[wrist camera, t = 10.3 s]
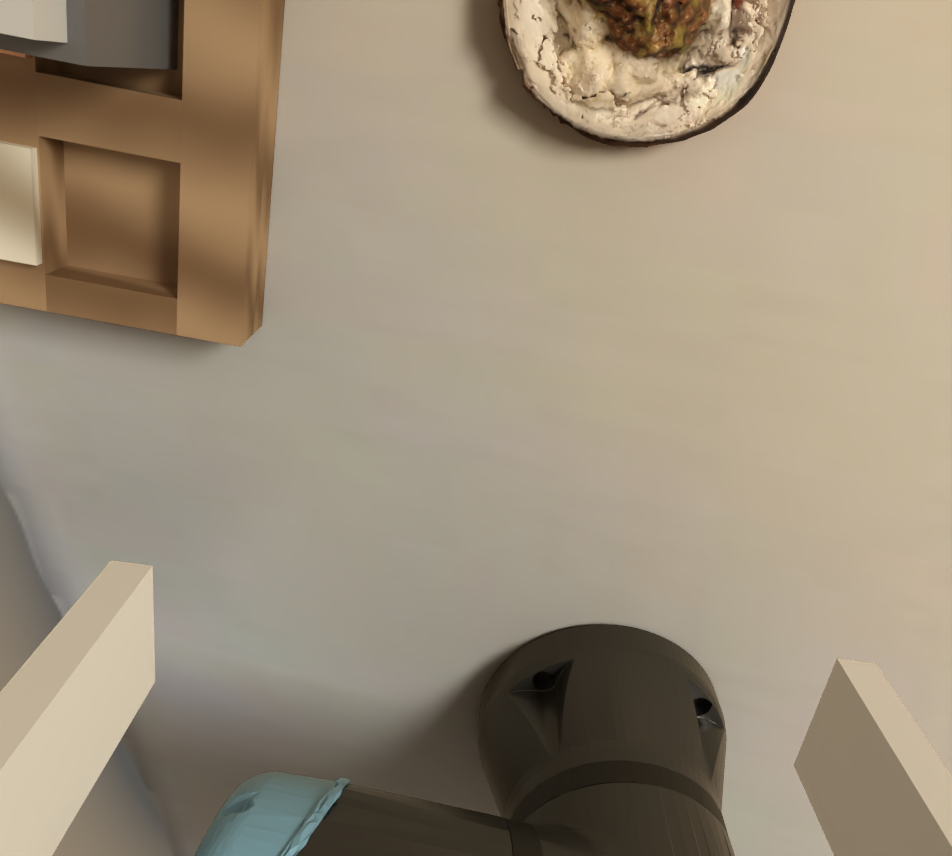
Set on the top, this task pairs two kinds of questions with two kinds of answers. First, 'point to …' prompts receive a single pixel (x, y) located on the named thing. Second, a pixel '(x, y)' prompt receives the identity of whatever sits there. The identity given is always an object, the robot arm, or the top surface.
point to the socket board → (145, 179)
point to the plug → (93, 31)
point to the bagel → (643, 62)
